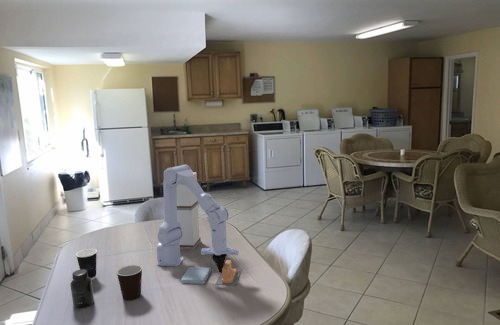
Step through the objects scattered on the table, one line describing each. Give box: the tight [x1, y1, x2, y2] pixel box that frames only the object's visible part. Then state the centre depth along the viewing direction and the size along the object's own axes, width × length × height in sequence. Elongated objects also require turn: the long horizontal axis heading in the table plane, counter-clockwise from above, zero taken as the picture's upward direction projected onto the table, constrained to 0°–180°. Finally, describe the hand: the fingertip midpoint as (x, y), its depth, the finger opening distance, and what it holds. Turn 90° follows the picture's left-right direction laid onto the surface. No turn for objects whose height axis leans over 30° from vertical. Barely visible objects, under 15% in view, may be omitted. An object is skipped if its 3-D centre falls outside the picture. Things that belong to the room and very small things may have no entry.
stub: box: [222, 259, 238, 283], centre depth 150 cm, size 4×10×5 cm, turn 172°
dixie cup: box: [75, 248, 98, 281], centre depth 154 cm, size 8×8×11 cm
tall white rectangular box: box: [177, 171, 202, 251], centre depth 184 cm, size 11×11×35 cm
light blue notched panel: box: [180, 266, 212, 285], centre depth 152 cm, size 9×11×2 cm
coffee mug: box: [116, 264, 143, 302], centre depth 140 cm, size 12×9×10 cm
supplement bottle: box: [70, 269, 95, 310], centre depth 134 cm, size 7×7×12 cm
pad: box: [215, 270, 242, 286], centre depth 150 cm, size 8×12×1 cm, turn 172°
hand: (220, 271), depth 150 cm, fingers closed
